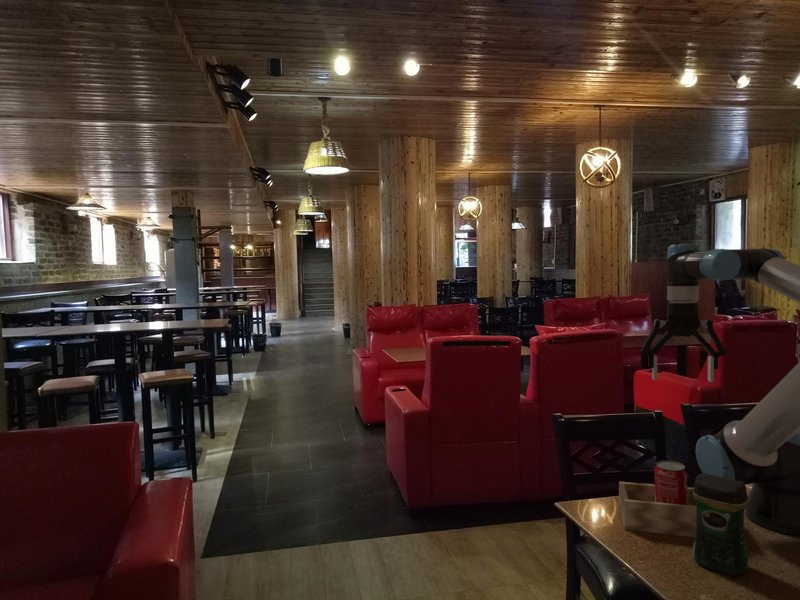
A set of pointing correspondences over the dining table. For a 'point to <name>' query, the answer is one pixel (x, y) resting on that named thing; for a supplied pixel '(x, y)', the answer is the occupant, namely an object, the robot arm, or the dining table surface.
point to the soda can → (670, 483)
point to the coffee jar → (720, 524)
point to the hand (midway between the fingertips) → (682, 380)
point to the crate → (655, 511)
